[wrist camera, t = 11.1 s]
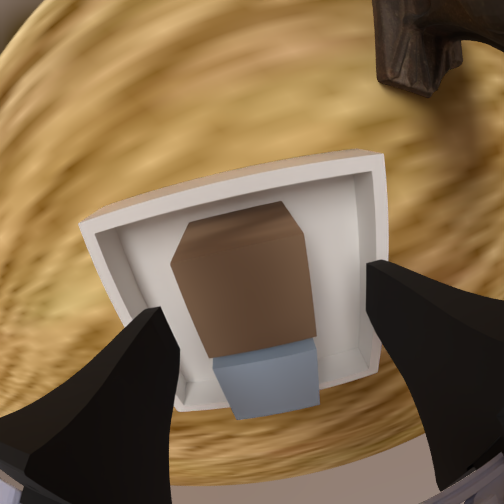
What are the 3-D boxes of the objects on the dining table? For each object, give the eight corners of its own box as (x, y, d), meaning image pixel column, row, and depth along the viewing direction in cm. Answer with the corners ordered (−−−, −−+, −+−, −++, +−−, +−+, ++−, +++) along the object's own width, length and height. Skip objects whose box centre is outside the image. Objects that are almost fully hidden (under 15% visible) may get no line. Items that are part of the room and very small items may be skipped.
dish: (357, 148, 11) (383, 153, 9) (363, 345, 16) (377, 372, 14) (103, 206, 12) (78, 223, 9) (182, 382, 17) (178, 411, 14)
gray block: (303, 349, 15) (319, 404, 11) (234, 363, 15) (237, 420, 12) (296, 293, 13) (316, 348, 10) (216, 309, 14) (212, 368, 10)
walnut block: (281, 200, 12) (303, 233, 8) (295, 281, 13) (316, 336, 10) (188, 222, 12) (169, 263, 8) (213, 299, 13) (209, 358, 10)
